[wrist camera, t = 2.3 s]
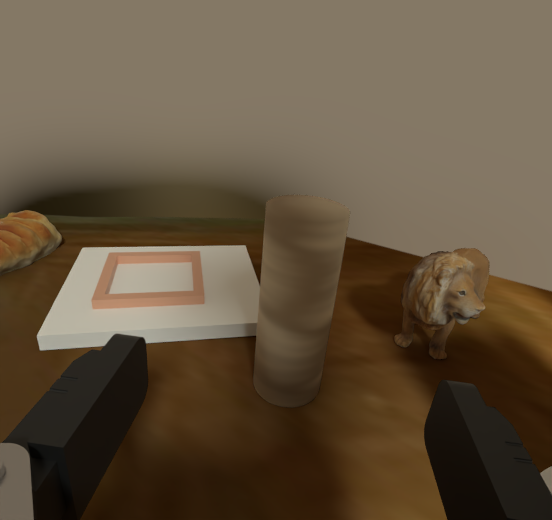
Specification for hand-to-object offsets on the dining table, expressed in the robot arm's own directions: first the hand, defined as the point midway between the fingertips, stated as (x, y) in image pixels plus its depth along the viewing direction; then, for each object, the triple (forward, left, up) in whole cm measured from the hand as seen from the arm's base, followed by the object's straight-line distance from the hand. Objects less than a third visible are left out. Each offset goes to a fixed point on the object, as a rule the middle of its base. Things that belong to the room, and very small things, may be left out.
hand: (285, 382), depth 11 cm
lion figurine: (-17, -14, -11) cm, 25 cm away
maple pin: (-4, -11, -11) cm, 16 cm away
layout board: (+4, -23, -11) cm, 26 cm away
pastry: (+19, -31, -11) cm, 38 cm away
